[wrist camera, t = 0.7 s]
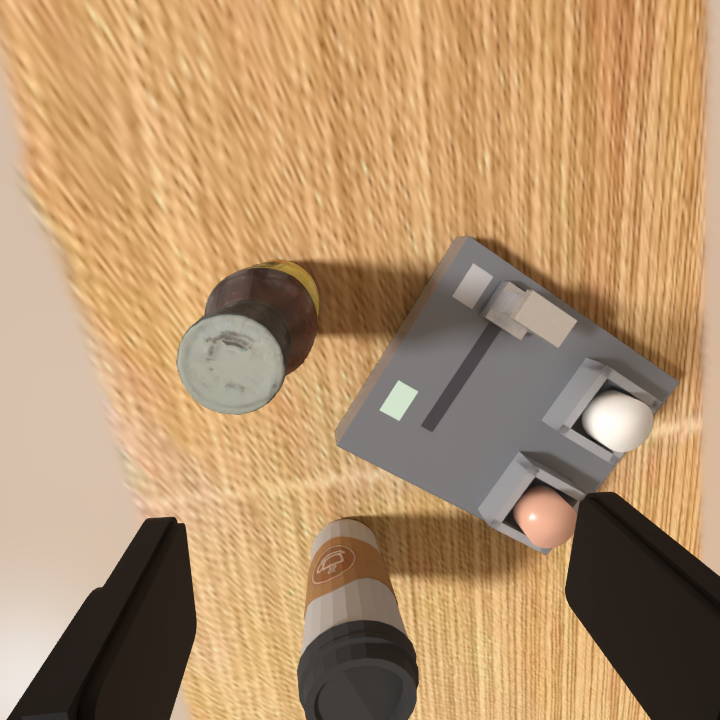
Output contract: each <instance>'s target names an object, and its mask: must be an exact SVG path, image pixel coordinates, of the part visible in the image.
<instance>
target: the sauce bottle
mask: <svg viewBox="0 0 720 720" xmlns="http://www.w3.org/2000/svg"><path fill="white" fill-rule="evenodd" d="M319 304H320V300H319V294H318V290H317V287H316V284H315V282H314V280H313V279H312V277H311V276H310V275H309V274H308V272H306V271H305V270H304V269H303V268H302V267H300V266H299V265H297V264H295V263H293V262H290V261H285V260H270V261H266V262H263V263H260V264H256V265H254V266H251V267H248V268H245V269H242V270H239V271H237V272H235V273H233V274H231V275H230V276H228V277H226V278H225V279H223V280H222V281H221V282H220V283H219V284H218V285H217V286H216V287H215V288H214V289H213V291H212V292H211V294H210V296H209V298H208V300H207V303H206V307H205V315H204V316H203V317H202V318H200V319H199V320H198V321H197V322H196V323H195V324H194V325H192V326H191V327H190V328H189V329H188V331H187V332H186V333H185V334H184V336H183V338H182V341H181V343H180V345H179V350H178V357H177V362H176V363H177V368H178V372H179V375H180V378H181V381H182V383H183V385H184V387H185V389H186V390H187V392H188V393H189V394H190V395H191V396H192V397H193V399H194V400H196V401H197V402H198V403H200V404H201V405H202V406H204V407H206V408H208V409H210V410H213V411H216V412H219V413H223V414H235V415H240V414H243V413H249V412H252V411H255V410H257V409H259V408H261V407H263V406H265V405H266V404H267V403H269V402H270V401H271V400H272V399H273V398H274V397H275V395H276V394H277V392H278V391H279V390H280V388H281V386H282V384H283V382H284V379H285V376H286V375H288V374H290V373H291V372H293V371H294V370H296V369H297V368H298V367H299V366H300V365H301V364H302V363H303V362H304V360H305V359H306V358H307V356H308V354H309V352H310V351H311V348H312V346H313V343H314V339H315V336H316V333H317V327H318V314H319Z"/></svg>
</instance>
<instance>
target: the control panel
mask: <svg viewBox="0 0 720 720" xmlns="http://www.w3.org/2000/svg"><path fill="white" fill-rule="evenodd" d="M502 280H503V281H509V282H511V283H512V284H514V285H515V286H517V287H518V288H520V289H521V290H523V291H524V292H526V290H533V291H535V292H536V293H538V294H539V295H541V296H542V297H543V298H545V299H546V300H548V301H549V302H551V303H552V304H554V305H555V306H557V307H558V308H559V309H561V310H562V311H564V312H565V313H567V314H568V315H570V316H571V317H573V318H574V319H575V320H577V322H576V324H575V325H574V327H573V328H572V329H571V331H570V332H569V334H568V335H567V337H566V338H565V339H564V341H563V342H562V344H561V345H560V346H559V348H557V347H554V346H552V345H550V344H549V343H547V342H545V341H544V340H542V339H541V338H539V337H538V336H536V335H535V334H532V333H529V332H526V333H525V335H524V336H523V338H522V339H521V340H519V339H517V338H514V337H513V336H511V335H509V334H508V333H506V332H505V331H503V330H502V329H500V328H499V327H497V326H496V325H494V324H492V323H491V322H489V321H488V320H486V319H485V318H483V317H482V316H480V314H481V312H482V311H483V309H484V307H485V306H486V304H487V303H488V301H489V300H490V298H491V297H492V295H493V294H494V292H495V291H496V289H497V288H498V286H499V285H500V283H501V282H502ZM679 383H680V382H679V381H677V380H676V379H674V378H673V377H672V376H670V375H669V374H667V373H666V372H664V371H663V370H661V369H660V368H659V367H657V366H656V365H654V364H653V363H651V362H650V361H648V360H647V359H646V358H644V357H643V356H641V355H640V354H638V353H637V352H636V351H634V350H633V349H631V348H630V347H628V346H627V345H625V344H624V343H623V342H621V341H620V340H618V339H617V338H615V337H614V336H612V335H611V334H610V333H608V332H607V331H605V330H604V329H602V328H601V327H599V326H598V325H597V324H595V323H594V322H592V321H591V320H589V319H588V318H587V317H585V316H584V315H582V314H581V313H579V312H578V311H576V310H575V309H574V308H572V307H571V306H569V305H568V304H566V303H565V302H563V301H562V300H561V299H559V298H558V297H556V296H555V295H553V294H552V293H551V292H549V291H548V290H546V289H545V288H543V287H542V286H540V285H539V284H538V283H536V282H535V281H533V280H532V279H530V278H529V277H527V276H526V275H525V274H523V273H522V272H520V271H519V270H517V269H516V268H515V267H513V266H512V265H510V264H509V263H507V262H506V261H504V260H503V259H502V258H500V257H499V256H497V255H496V254H494V253H493V252H491V251H490V250H489V249H487V248H486V247H484V246H483V245H481V244H480V243H478V242H477V241H476V240H474V239H473V238H471V237H470V236H463V237H456V238H455V240H454V241H453V243H452V244H451V246H450V248H449V249H448V251H447V252H446V254H445V256H444V257H443V259H442V260H441V262H440V264H439V265H438V267H437V268H436V270H435V272H434V273H433V275H432V276H431V278H430V280H429V281H428V283H427V284H426V286H425V288H424V289H423V291H422V292H421V294H420V296H419V297H418V299H417V300H416V302H415V304H414V305H413V307H412V308H411V310H410V312H409V313H408V315H407V316H406V318H405V320H404V321H403V323H402V324H401V326H400V328H399V329H398V331H397V332H396V334H395V336H394V337H393V339H392V340H391V342H390V344H389V345H388V347H387V348H386V350H385V352H384V353H383V355H382V356H381V358H380V360H379V361H378V363H377V364H376V366H375V368H374V369H373V371H372V372H371V374H370V376H369V377H368V379H367V380H366V382H365V384H364V385H363V387H362V388H361V390H360V392H359V393H358V395H357V396H356V398H355V400H354V401H353V403H352V404H351V406H350V408H349V409H348V411H347V412H346V414H345V416H344V417H343V419H342V420H341V422H340V424H339V425H338V427H337V428H336V430H335V436H336V444H337V446H338V447H340V448H342V449H344V450H346V451H348V452H350V453H352V454H354V455H356V456H358V457H360V458H362V459H364V460H366V461H368V462H370V463H372V464H374V465H376V466H378V467H380V468H382V469H384V470H386V471H388V472H390V473H392V474H394V475H395V476H397V477H399V478H401V479H403V480H405V481H407V482H409V483H411V484H413V485H415V486H417V487H419V488H421V489H423V490H425V491H427V492H429V493H431V494H433V495H435V496H437V497H439V498H441V499H443V500H445V501H447V502H449V503H451V504H453V505H455V506H457V507H459V508H461V509H463V510H465V511H467V512H469V513H470V514H472V515H474V516H476V517H478V518H480V519H482V520H484V521H486V523H487V524H488V526H489V527H491V528H493V529H495V530H497V531H499V532H501V533H503V534H505V535H507V536H509V537H511V538H513V539H515V540H517V541H519V542H521V543H523V544H525V545H527V546H529V547H531V548H533V549H535V550H537V551H539V552H541V553H543V554H545V555H547V553H549V552H550V551H551V549H552V548H540V547H538V546H536V545H534V544H533V543H532V542H531V541H530V540H529V538H528V537H527V536H526V534H525V533H524V532H523V531H522V529H521V528H520V527H519V525H518V524H517V523H516V521H515V519H514V516H513V508H514V505H515V503H516V502H517V501H518V499H519V498H520V497H521V495H522V494H523V493H524V492H525V491H526V490H528V489H530V488H532V487H536V486H547V487H550V488H552V489H553V490H555V491H556V492H557V493H558V494H559V495H560V496H561V497H562V498H563V499H564V500H565V501H566V502H567V503H568V504H569V505H570V506H571V507H572V508H573V509H574V510H575V512H576V514H577V513H578V507H579V503H580V501H581V500H583V499H584V498H585V496H586V495H587V494H589V493H595V492H596V491H597V489H598V488H599V487H600V485H601V484H602V483H603V482H604V480H605V479H606V478H607V476H608V475H609V474H610V472H611V471H612V470H613V469H614V467H615V466H616V465H617V463H618V462H619V461H620V459H621V458H622V457H623V455H624V454H625V453H626V452H616V451H613V450H611V449H609V448H608V447H606V446H605V445H603V444H602V443H600V442H599V441H597V440H596V439H594V438H592V437H591V436H590V435H588V434H587V433H586V432H585V430H584V428H583V425H582V414H583V411H584V409H585V408H586V407H587V405H588V404H589V402H590V401H591V400H592V398H593V397H594V396H595V395H597V394H599V393H601V392H604V391H608V390H615V391H618V392H621V393H623V394H625V395H628V396H630V397H632V398H634V399H637V400H639V401H641V402H643V403H645V404H646V405H647V406H648V407H649V408H650V409H651V411H652V414H653V416H654V415H655V414H656V412H657V411H658V410H659V409H660V407H661V406H662V405H663V403H664V402H665V401H666V399H667V398H668V397H669V396H670V394H671V393H672V392H673V390H674V389H675V388H676V386H677V385H678V384H679Z"/></svg>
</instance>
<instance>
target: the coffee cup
mask: <svg viewBox="0 0 720 720" xmlns="http://www.w3.org/2000/svg"><path fill="white" fill-rule="evenodd" d="M304 617H305V625H304V636H303V646H302V656H301V658H300V661H299V665H298V669H297V675H298V688H299V698H300V702H301V704H302V706H303V708H304V711H305V717H306V719H307V720H408V718H409V717H410V715H411V714H412V712H413V710H414V707H415V704H416V701H417V687H418V684H419V678H418V667H417V664H416V653H415V650H414V647H413V644H412V642H411V641H410V640H409V639H408V637H407V634H406V631H405V628H404V624H403V621H402V618H401V615H400V612H399V609H398V603H397V600H396V597H395V593H394V590H393V587H392V584H391V581H390V578H389V575H388V572H387V569H386V566H385V563H384V560H383V557H382V555H381V553H380V550H379V547H378V544H377V541H376V538H375V535H374V534H373V532H372V531H371V530H370V529H369V528H368V527H367V526H365V525H364V524H363V523H361V522H359V521H356V520H352V519H340V520H336V521H334V522H331V523H330V524H328V525H326V526H325V527H324V528H323V529H322V530H321V531H320V532H319V533H318V534H317V536H316V538H315V540H314V542H313V546H312V553H311V564H310V569H309V574H308V584H307V594H306V603H305V613H304Z"/></svg>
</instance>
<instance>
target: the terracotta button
mask: <svg viewBox="0 0 720 720" xmlns="http://www.w3.org/2000/svg"><path fill="white" fill-rule="evenodd" d="M513 516H514V519H515V521H516V523H517V524H518V525H519V527H520V528H521V529H522V531H523V532H524V533H525V534H526V536H527V537H528V538H529V540H530V541H531V542H532V543H533V544H534V545H536V546H538V547H540V548H554V547H557V546H560V545H562V544H563V543H565V542H566V541H567V540H569V539H570V538H571V536H572V535H573V534H574V531H575V525H576V519H577V514H576V512H575V510H574V509H573V508H572V507H571V506H570V505H569V504H568V503H567V502H566V501H565V500H564V499H563V498H562V497H561V496H560V495H559V494H558V493H557V492H556V491H555V490H553V489H552V488H550V487H547V486H536V487H532V488H530V489H528V490H526V491H525V492H524V493H523V494H522V495H521V497H520V498H519V499H518V501H517V502H516V503H515V505H514V508H513Z"/></svg>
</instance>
